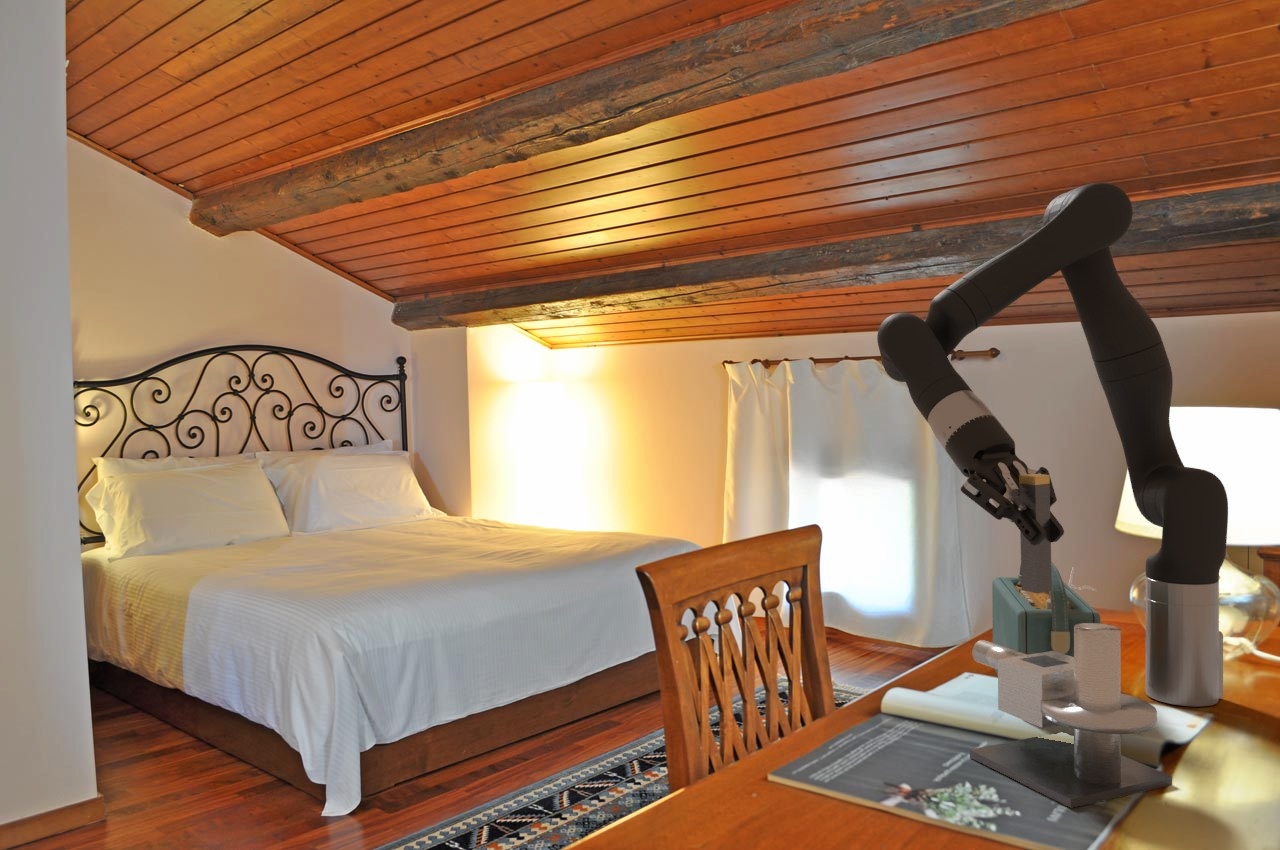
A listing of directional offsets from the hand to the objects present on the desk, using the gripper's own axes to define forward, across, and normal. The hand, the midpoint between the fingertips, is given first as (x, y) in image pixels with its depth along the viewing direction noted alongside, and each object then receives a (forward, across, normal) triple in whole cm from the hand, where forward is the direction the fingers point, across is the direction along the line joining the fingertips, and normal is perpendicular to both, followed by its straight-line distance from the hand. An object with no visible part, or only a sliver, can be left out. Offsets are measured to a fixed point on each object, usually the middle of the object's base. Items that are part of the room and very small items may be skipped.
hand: (1049, 538), depth 118 cm
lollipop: (-10, +54, +51) cm, 75 cm away
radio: (+6, +21, +34) cm, 40 cm away
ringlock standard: (+19, 0, +19) cm, 27 cm away
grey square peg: (+3, 0, +6) cm, 7 cm away
